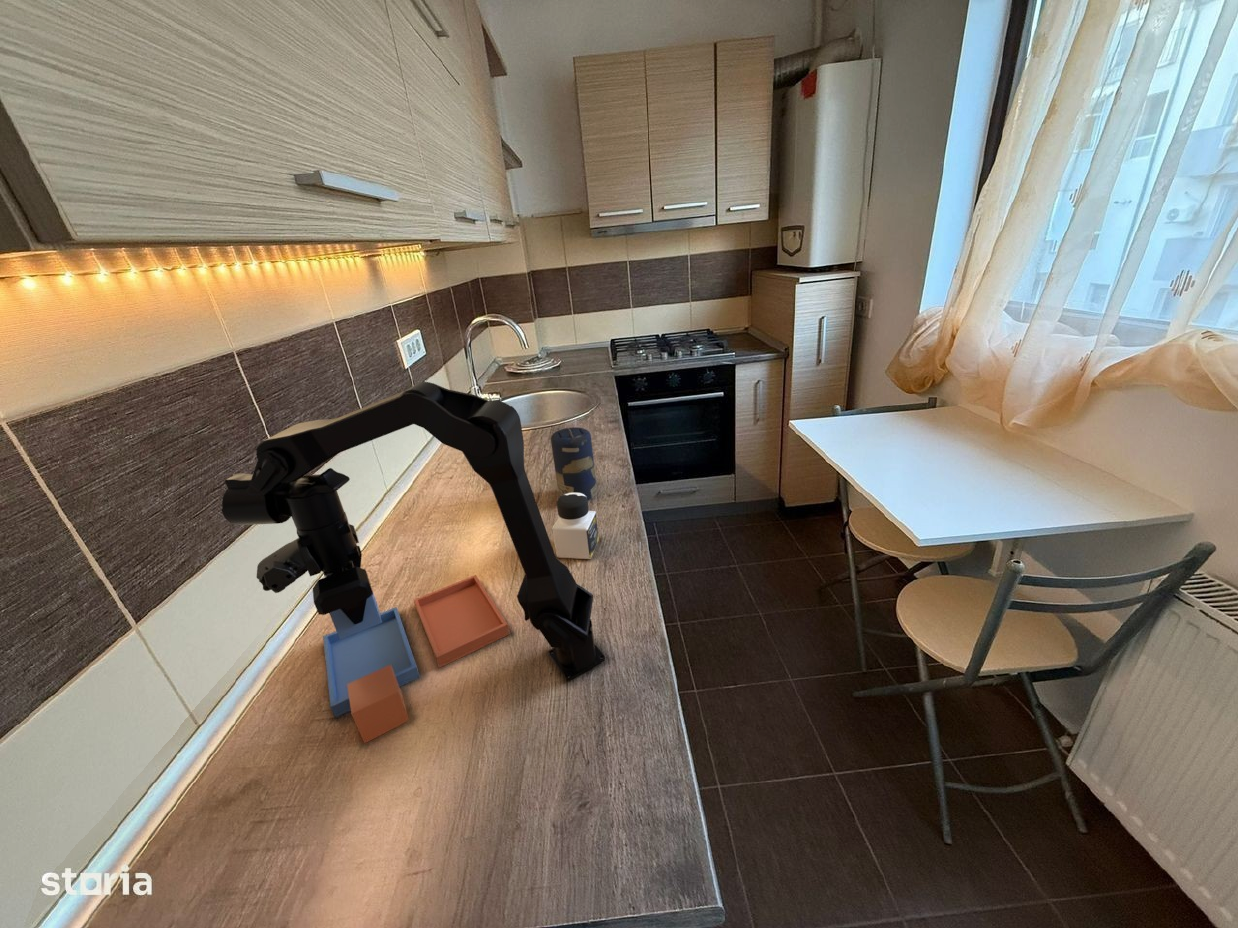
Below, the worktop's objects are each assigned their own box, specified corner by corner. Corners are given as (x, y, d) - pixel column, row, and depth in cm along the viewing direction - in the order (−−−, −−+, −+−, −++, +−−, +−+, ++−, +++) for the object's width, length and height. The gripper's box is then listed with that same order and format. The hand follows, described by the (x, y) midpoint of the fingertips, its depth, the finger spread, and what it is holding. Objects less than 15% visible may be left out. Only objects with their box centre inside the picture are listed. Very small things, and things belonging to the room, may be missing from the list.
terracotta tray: (509, 634, 77) (507, 624, 76) (439, 667, 71) (436, 657, 70) (478, 583, 89) (475, 574, 88) (416, 609, 84) (413, 599, 83)
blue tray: (420, 677, 70) (416, 666, 69) (335, 717, 65) (330, 707, 64) (399, 616, 83) (396, 606, 82) (327, 645, 77) (322, 636, 76)
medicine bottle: (590, 560, 93) (584, 506, 88) (556, 558, 95) (548, 505, 90) (599, 539, 100) (593, 489, 95) (566, 538, 101) (559, 488, 96)
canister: (597, 486, 122) (590, 420, 115) (597, 504, 114) (590, 434, 106) (560, 489, 122) (551, 423, 115) (557, 507, 114) (547, 437, 106)
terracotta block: (409, 720, 64) (398, 691, 61) (364, 743, 61) (351, 713, 59) (401, 692, 68) (390, 664, 66) (359, 712, 65) (346, 684, 63)
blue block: (382, 622, 69) (370, 591, 67) (340, 640, 66) (327, 607, 65) (377, 605, 74) (366, 574, 72) (337, 620, 71) (325, 589, 69)
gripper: (251, 512, 67) (291, 600, 73) (242, 578, 52) (293, 680, 58) (340, 487, 72) (370, 571, 78) (354, 541, 57) (389, 639, 64)
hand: (356, 611), depth 69 cm, fingers closed on blue block, 5 cm apart
